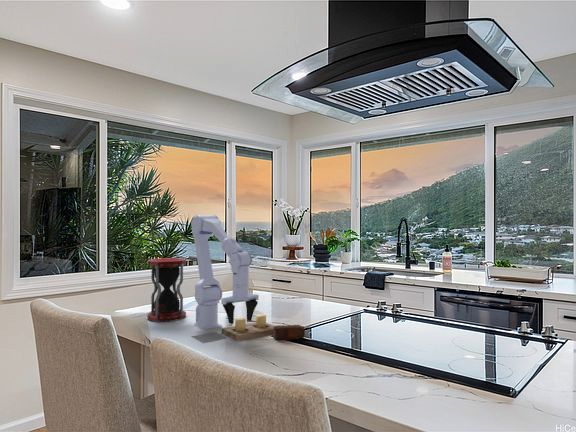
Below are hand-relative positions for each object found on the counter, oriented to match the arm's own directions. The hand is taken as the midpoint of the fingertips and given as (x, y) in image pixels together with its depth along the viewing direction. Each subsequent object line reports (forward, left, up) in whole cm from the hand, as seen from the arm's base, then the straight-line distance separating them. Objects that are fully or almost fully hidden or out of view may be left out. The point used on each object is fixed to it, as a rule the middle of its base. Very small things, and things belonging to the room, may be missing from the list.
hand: (240, 321), depth 151 cm
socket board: (0, +5, -5) cm, 7 cm away
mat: (-3, -10, -5) cm, 12 cm away
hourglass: (-43, -11, -5) cm, 45 cm away
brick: (+14, +12, -5) cm, 19 cm away
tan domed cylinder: (0, +9, -5) cm, 10 cm away
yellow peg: (0, 0, -5) cm, 5 cm away
